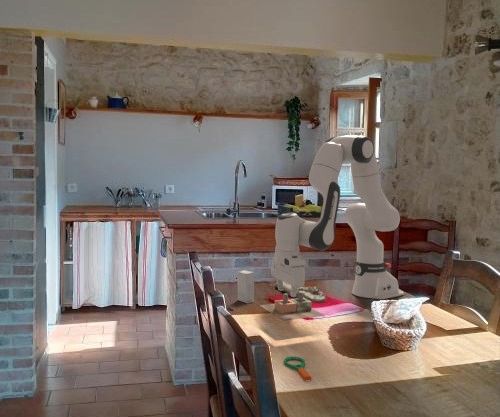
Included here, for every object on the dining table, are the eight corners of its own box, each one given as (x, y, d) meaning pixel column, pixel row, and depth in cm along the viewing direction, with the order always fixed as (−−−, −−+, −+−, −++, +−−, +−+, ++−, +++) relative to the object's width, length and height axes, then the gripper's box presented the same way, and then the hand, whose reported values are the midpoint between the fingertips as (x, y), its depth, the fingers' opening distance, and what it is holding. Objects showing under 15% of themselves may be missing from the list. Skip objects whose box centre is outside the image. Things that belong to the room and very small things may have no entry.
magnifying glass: (280, 361, 155) (281, 355, 155) (300, 359, 156) (300, 354, 156) (297, 383, 140) (297, 377, 140) (318, 381, 142) (318, 375, 142)
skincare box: (254, 302, 215) (255, 272, 213) (246, 303, 212) (246, 273, 210) (245, 298, 219) (245, 269, 218) (236, 300, 216) (236, 271, 215)
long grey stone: (288, 287, 244) (269, 291, 240) (287, 276, 244) (268, 279, 239) (333, 303, 213) (313, 307, 209) (333, 290, 213) (312, 294, 208)
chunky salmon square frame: (274, 308, 201) (274, 300, 200) (288, 306, 203) (288, 299, 203) (282, 312, 195) (282, 305, 195) (296, 311, 198) (296, 303, 197)
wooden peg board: (297, 304, 212) (298, 286, 211) (324, 319, 194) (325, 299, 193) (259, 309, 205) (259, 290, 204) (283, 324, 187) (284, 303, 186)
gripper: (267, 252, 205) (267, 287, 207) (292, 263, 187) (292, 301, 189) (281, 251, 208) (281, 285, 210) (308, 261, 189) (307, 299, 191)
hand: (286, 293), depth 199 cm, fingers open, 8 cm apart
